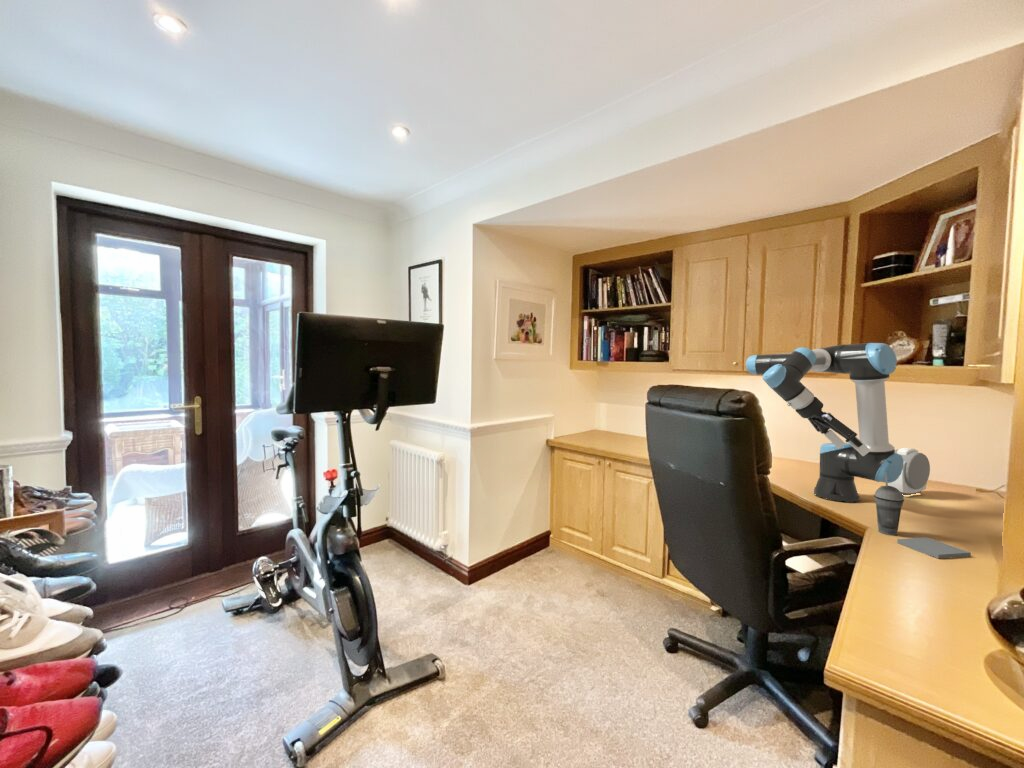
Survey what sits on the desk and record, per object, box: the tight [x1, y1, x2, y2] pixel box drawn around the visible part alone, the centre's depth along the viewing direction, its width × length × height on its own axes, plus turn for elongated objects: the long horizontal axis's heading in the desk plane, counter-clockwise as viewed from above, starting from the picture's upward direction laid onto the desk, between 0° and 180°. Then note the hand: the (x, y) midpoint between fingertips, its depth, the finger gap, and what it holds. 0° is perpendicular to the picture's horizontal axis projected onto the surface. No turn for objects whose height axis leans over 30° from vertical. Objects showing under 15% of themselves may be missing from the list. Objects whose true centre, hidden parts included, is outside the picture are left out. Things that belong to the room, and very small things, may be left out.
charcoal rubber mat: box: [896, 537, 972, 559], centre depth 124 cm, size 11×11×1 cm
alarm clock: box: [888, 447, 931, 495], centre depth 181 cm, size 18×8×20 cm, turn 110°
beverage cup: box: [873, 472, 905, 537], centre depth 137 cm, size 7×7×20 cm
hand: (853, 449), depth 138 cm, fingers open, 13 cm apart
